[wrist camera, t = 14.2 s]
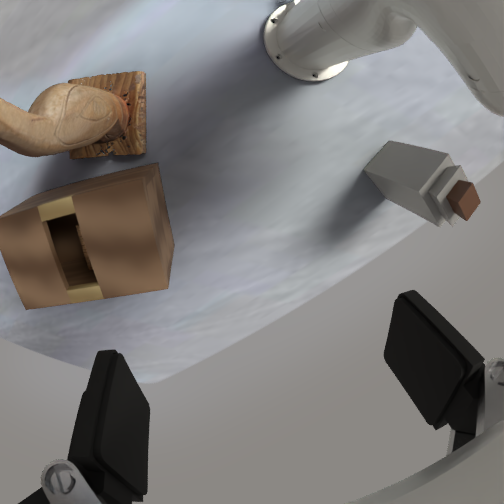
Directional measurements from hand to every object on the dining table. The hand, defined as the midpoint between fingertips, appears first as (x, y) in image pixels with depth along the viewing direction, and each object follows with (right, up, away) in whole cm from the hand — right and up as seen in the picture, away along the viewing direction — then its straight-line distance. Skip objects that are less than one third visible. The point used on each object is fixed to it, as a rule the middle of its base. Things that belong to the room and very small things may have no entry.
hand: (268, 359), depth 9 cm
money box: (-22, +8, +29) cm, 38 cm away
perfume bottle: (+21, +17, +34) cm, 43 cm away
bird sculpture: (-20, +21, +24) cm, 38 cm away
